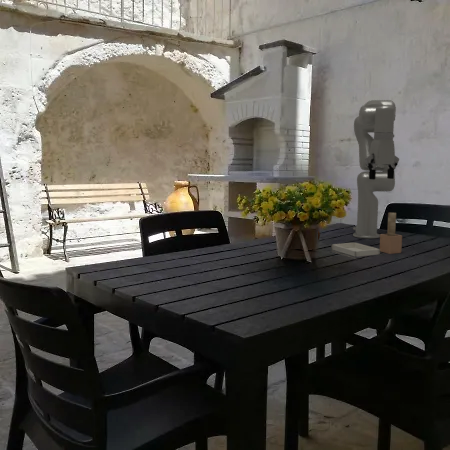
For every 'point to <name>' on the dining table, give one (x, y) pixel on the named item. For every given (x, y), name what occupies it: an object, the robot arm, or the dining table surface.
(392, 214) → the beech dowel
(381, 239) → the terracotta cup
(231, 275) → the dining table surface
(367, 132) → the robot arm
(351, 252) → the plastic tray
